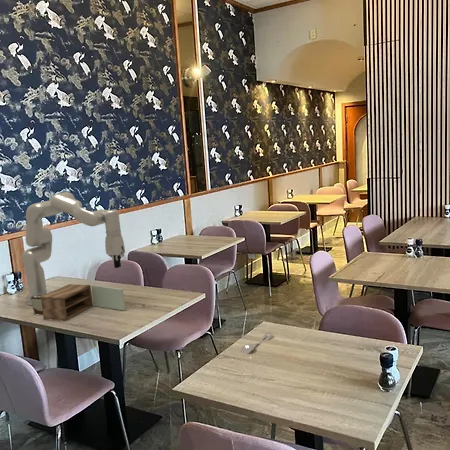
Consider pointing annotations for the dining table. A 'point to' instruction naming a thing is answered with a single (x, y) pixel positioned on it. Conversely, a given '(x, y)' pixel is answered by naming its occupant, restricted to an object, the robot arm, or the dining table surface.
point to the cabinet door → (108, 297)
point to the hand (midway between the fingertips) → (117, 267)
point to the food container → (37, 303)
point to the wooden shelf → (66, 302)
